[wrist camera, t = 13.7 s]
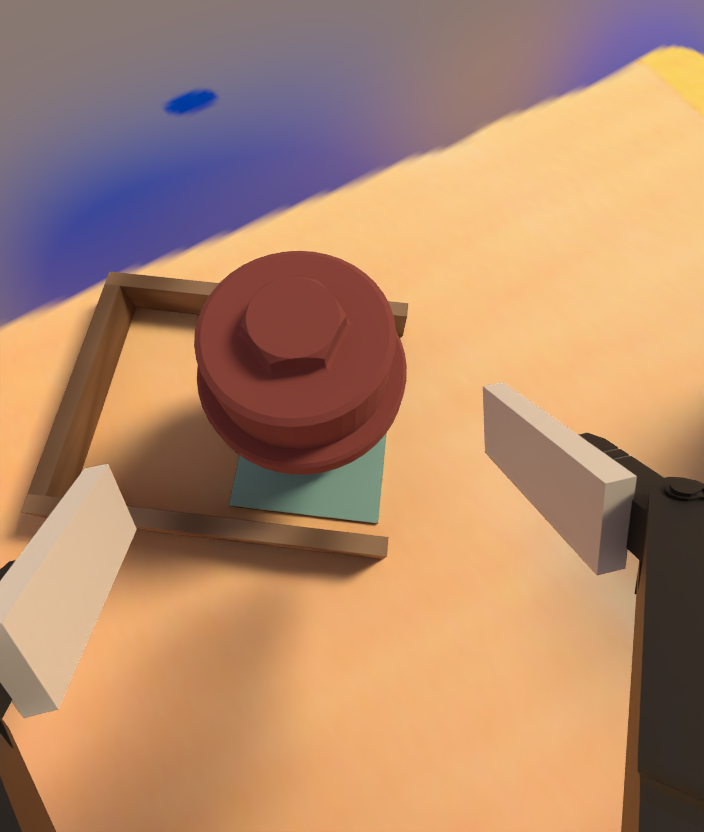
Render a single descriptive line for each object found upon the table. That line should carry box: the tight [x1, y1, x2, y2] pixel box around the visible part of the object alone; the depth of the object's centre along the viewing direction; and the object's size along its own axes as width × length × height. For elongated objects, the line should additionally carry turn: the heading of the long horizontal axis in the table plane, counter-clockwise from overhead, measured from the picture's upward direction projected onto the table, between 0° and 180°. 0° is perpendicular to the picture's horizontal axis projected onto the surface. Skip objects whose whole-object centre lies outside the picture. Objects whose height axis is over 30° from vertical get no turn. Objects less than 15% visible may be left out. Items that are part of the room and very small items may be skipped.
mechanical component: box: [194, 251, 407, 475], centre depth 24 cm, size 12×10×10 cm
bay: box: [21, 272, 408, 559], centre depth 29 cm, size 20×16×2 cm
